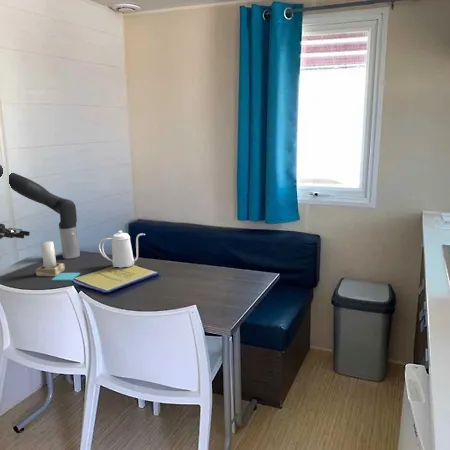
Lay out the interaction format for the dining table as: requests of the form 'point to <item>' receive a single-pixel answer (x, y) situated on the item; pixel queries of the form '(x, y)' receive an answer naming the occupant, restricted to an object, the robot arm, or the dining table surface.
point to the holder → (50, 270)
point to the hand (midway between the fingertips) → (26, 235)
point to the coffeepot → (121, 250)
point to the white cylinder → (48, 255)
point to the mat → (65, 277)
